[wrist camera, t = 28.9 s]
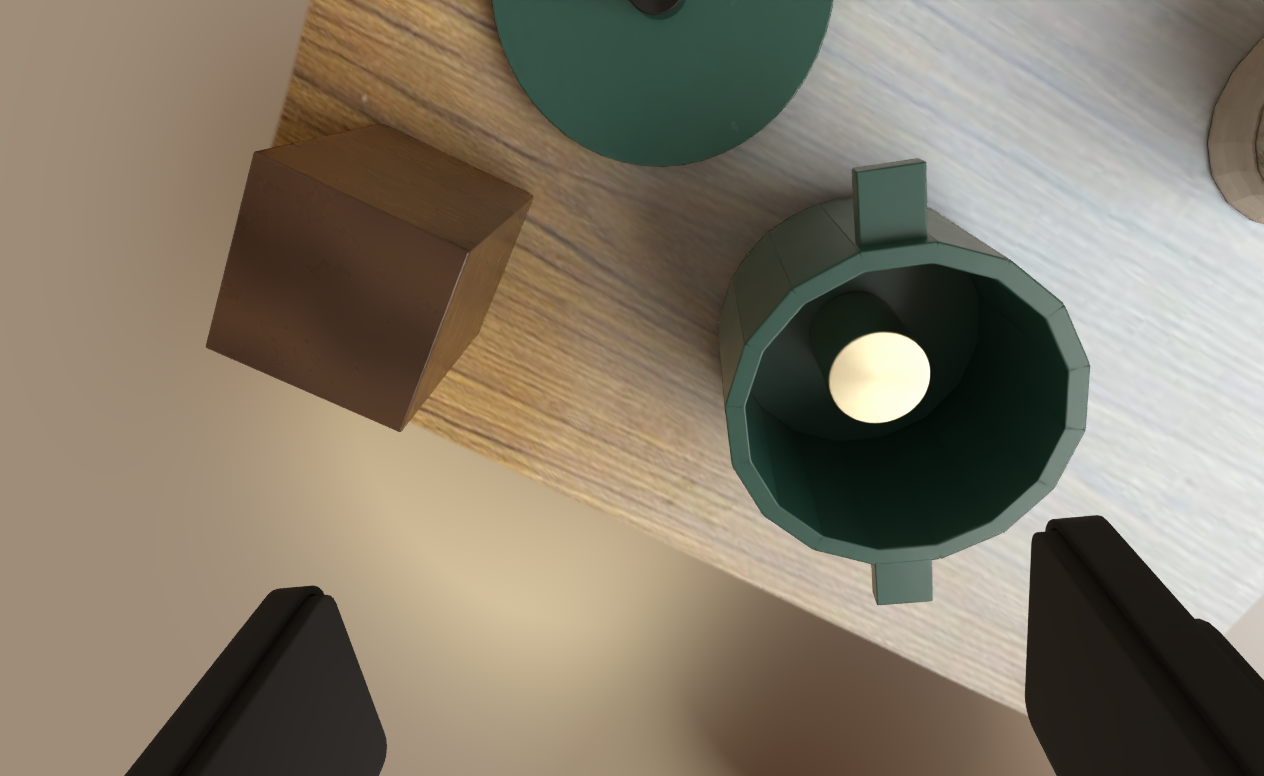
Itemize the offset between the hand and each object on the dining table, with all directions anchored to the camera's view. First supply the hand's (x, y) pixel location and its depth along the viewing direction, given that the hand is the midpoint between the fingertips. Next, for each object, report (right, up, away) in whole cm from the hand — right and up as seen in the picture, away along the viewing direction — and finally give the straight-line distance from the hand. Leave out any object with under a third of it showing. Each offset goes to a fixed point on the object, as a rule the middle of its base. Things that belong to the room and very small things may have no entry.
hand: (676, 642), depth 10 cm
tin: (+11, +6, +29) cm, 31 cm away
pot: (+11, +6, +29) cm, 32 cm away
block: (-11, +11, +29) cm, 33 cm away
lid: (+1, +21, +23) cm, 31 cm away
